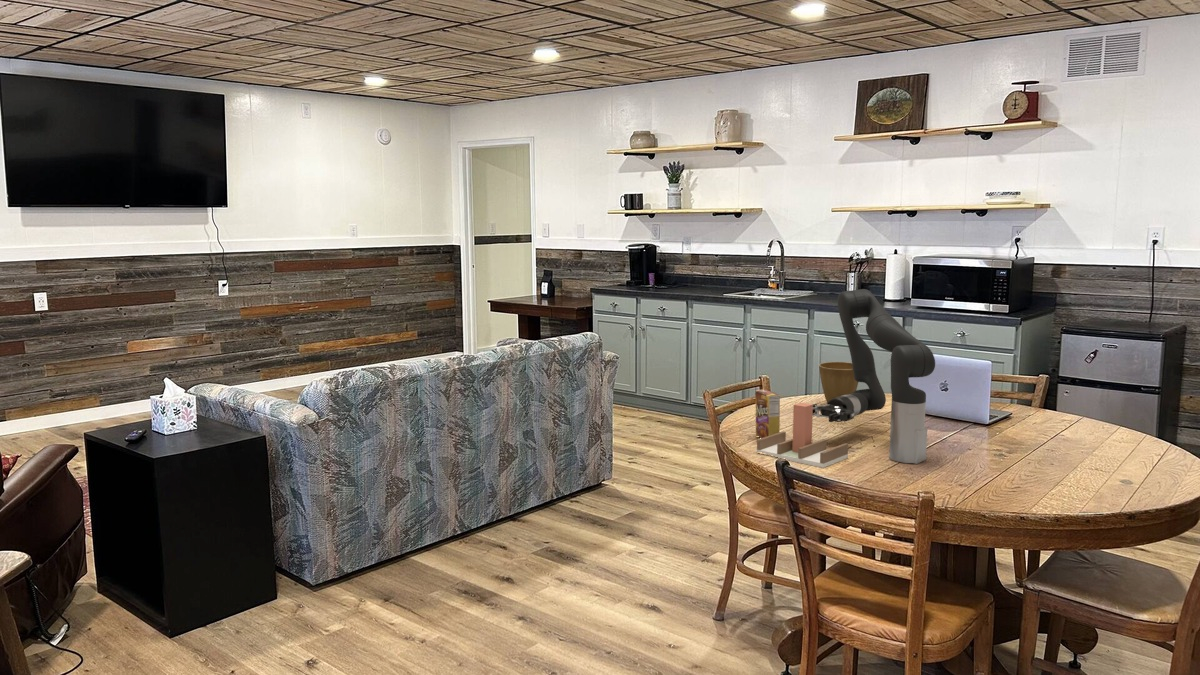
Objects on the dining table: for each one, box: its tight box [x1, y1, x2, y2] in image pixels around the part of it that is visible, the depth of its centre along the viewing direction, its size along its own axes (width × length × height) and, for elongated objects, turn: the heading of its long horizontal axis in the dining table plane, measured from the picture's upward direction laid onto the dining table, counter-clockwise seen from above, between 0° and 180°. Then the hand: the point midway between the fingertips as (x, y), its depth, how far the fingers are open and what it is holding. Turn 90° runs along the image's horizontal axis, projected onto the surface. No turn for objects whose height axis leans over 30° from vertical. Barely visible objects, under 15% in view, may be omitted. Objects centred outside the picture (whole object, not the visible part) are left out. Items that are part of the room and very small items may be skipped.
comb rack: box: [756, 430, 849, 469], centre depth 257 cm, size 22×14×4 cm, turn 46°
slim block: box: [792, 402, 814, 453], centre depth 256 cm, size 4×4×14 cm
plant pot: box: [818, 361, 859, 404], centre depth 319 cm, size 15×15×16 cm
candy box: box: [755, 388, 781, 439], centre depth 275 cm, size 9×4×15 cm, turn 17°
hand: (816, 416), depth 262 cm, fingers open, 8 cm apart
